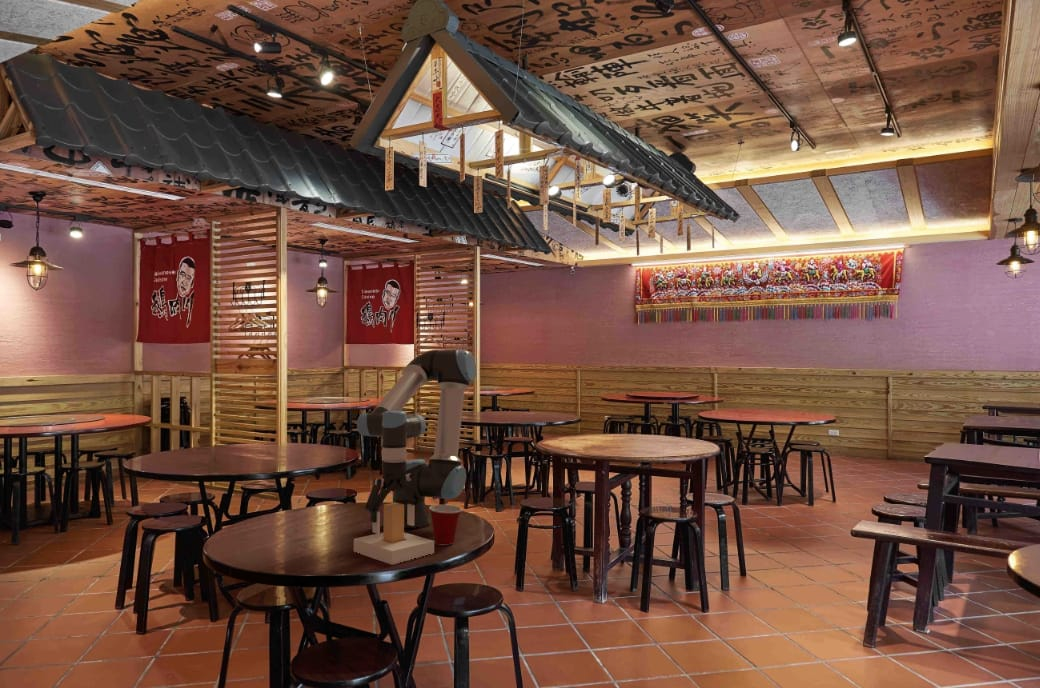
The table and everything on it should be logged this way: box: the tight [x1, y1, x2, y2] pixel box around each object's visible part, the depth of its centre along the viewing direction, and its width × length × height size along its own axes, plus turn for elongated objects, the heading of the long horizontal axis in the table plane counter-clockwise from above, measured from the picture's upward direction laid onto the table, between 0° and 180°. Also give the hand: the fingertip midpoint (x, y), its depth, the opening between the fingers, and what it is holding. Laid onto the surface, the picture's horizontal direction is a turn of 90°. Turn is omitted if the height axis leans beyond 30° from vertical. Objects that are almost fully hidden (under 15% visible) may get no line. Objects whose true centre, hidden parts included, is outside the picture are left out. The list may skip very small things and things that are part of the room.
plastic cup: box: [428, 504, 463, 545], centre depth 232 cm, size 11×11×12 cm
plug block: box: [383, 502, 405, 543], centre depth 222 cm, size 4×4×15 cm
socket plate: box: [353, 531, 435, 566], centre depth 222 cm, size 16×20×4 cm
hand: (393, 528), depth 222 cm, fingers open, 13 cm apart
